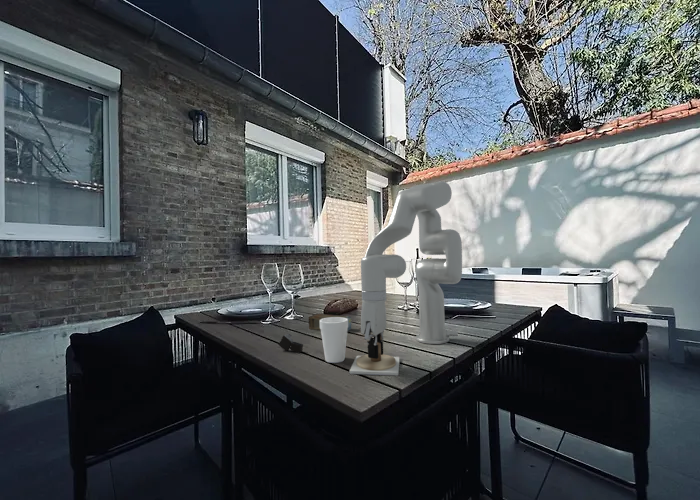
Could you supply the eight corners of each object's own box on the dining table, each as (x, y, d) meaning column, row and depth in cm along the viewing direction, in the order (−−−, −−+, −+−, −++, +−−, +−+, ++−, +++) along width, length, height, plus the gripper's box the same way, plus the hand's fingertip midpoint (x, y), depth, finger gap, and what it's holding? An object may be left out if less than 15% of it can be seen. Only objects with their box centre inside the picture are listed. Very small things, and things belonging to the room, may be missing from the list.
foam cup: (350, 355, 114) (349, 316, 114) (347, 364, 104) (346, 322, 105) (323, 355, 115) (322, 317, 115) (317, 364, 105) (316, 323, 105)
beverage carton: (343, 333, 145) (343, 318, 145) (307, 329, 153) (307, 315, 153) (351, 329, 152) (351, 315, 152) (317, 326, 160) (316, 312, 160)
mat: (399, 359, 108) (399, 356, 108) (398, 375, 94) (398, 372, 94) (356, 358, 110) (356, 355, 110) (349, 373, 97) (349, 370, 97)
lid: (396, 357, 107) (395, 338, 107) (395, 371, 95) (394, 350, 95) (359, 356, 109) (358, 338, 109) (353, 369, 97) (353, 349, 97)
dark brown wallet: (299, 357, 121) (306, 345, 120) (295, 359, 119) (303, 347, 117) (281, 343, 123) (288, 330, 122) (278, 344, 121) (284, 332, 120)
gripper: (373, 292, 111) (374, 347, 111) (351, 299, 97) (352, 362, 97) (394, 293, 108) (396, 349, 108) (374, 300, 93) (376, 366, 93)
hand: (375, 355), depth 102 cm, fingers closed on lid, 3 cm apart
